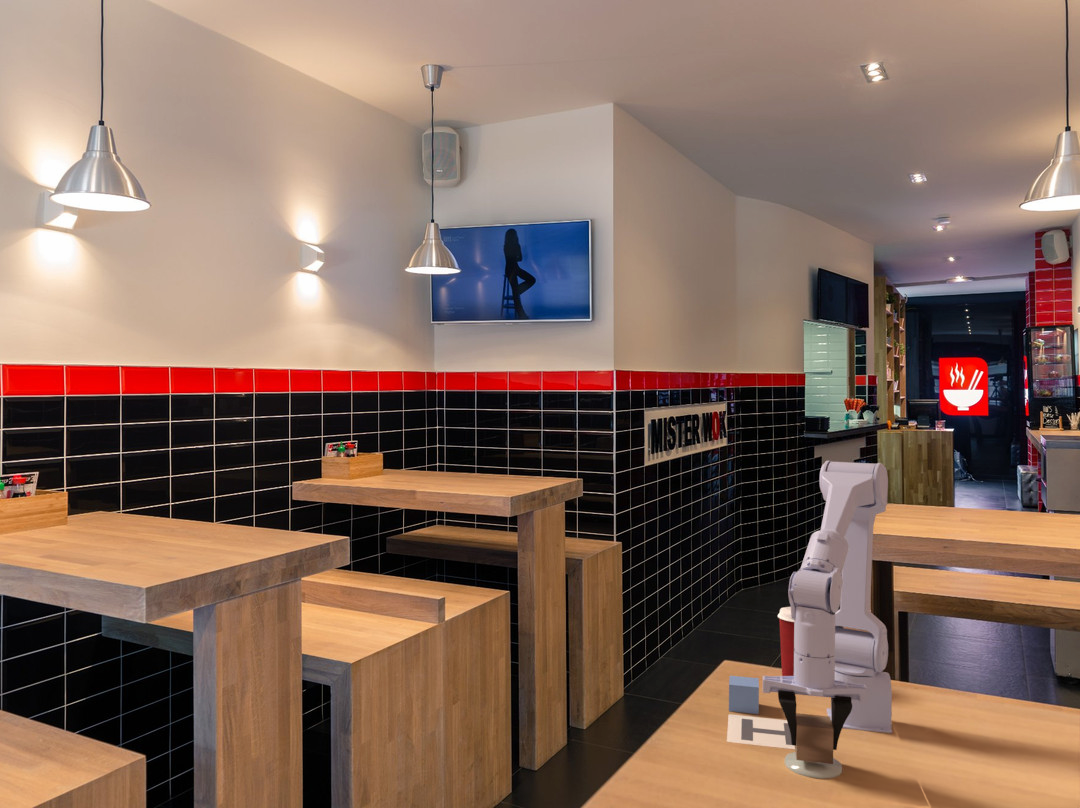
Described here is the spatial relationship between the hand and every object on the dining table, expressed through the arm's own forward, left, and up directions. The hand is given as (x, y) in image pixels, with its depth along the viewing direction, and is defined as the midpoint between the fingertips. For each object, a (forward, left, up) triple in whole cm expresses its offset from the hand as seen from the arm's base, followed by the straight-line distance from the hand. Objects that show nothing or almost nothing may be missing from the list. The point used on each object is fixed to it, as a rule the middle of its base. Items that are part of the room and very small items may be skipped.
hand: (813, 745), depth 120 cm
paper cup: (0, -38, -4) cm, 39 cm away
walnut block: (0, 0, -2) cm, 2 cm away
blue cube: (+10, -21, -3) cm, 24 cm away
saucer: (0, 0, -3) cm, 3 cm away
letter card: (+6, -11, -3) cm, 13 cm away
